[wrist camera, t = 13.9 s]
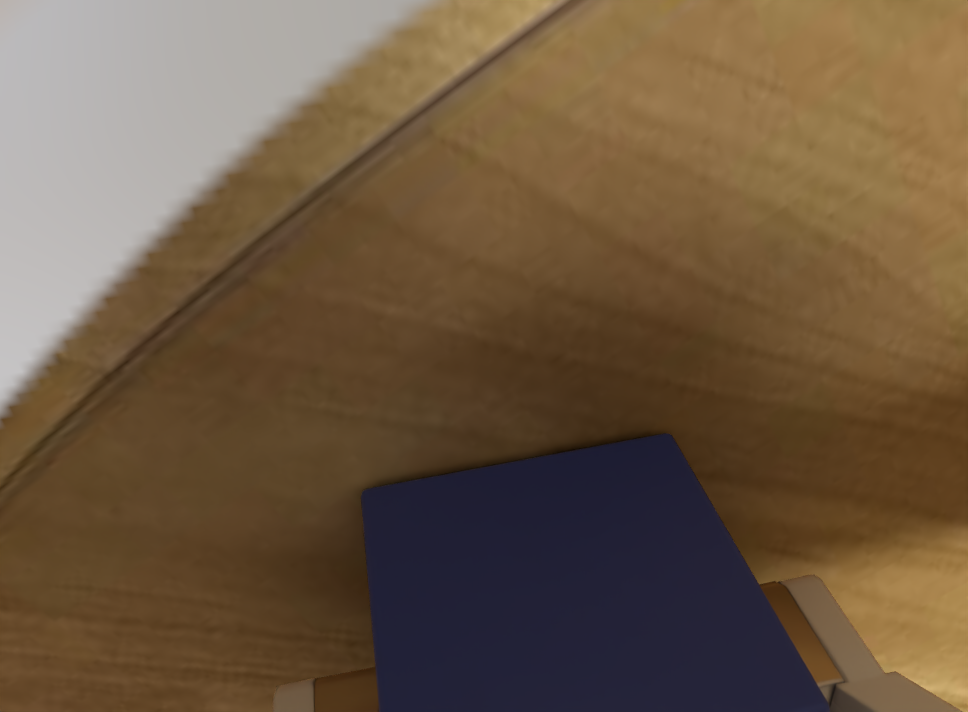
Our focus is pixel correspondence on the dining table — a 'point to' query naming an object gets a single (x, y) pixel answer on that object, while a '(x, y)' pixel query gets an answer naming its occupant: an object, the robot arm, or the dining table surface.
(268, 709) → the dining table surface
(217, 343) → the dining table surface
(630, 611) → the blue cube
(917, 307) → the dining table surface
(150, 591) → the dining table surface
